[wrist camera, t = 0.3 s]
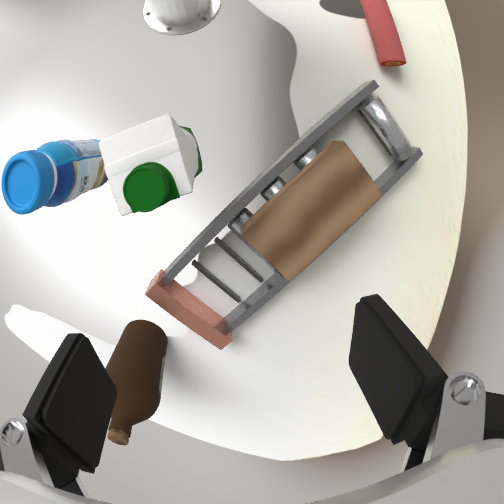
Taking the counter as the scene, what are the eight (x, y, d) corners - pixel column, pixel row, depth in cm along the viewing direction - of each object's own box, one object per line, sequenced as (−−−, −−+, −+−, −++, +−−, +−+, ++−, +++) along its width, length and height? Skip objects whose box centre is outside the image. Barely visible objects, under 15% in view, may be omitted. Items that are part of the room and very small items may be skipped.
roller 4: (355, 109, 38) (367, 107, 35) (370, 97, 38) (382, 94, 34) (391, 160, 42) (404, 162, 38) (404, 147, 41) (417, 148, 38)
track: (151, 280, 47) (145, 294, 42) (362, 79, 37) (377, 74, 32) (220, 333, 53) (220, 349, 48) (414, 155, 43) (430, 157, 38)
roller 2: (258, 192, 43) (262, 197, 39) (277, 174, 42) (282, 178, 38) (306, 242, 47) (313, 250, 43) (323, 226, 46) (331, 233, 43)
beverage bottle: (108, 130, 36) (35, 129, 18) (122, 178, 40) (56, 207, 21) (68, 150, 36) (-11, 165, 18) (81, 195, 40) (9, 233, 21)
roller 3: (290, 162, 42) (297, 164, 38) (308, 145, 41) (317, 146, 37) (336, 214, 46) (345, 221, 42) (352, 199, 45) (362, 204, 41)
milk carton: (157, 191, 41) (110, 230, 23) (141, 138, 38) (80, 138, 19) (209, 174, 41) (199, 200, 23) (194, 119, 38) (170, 100, 19)
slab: (239, 227, 41) (241, 236, 37) (333, 141, 37) (344, 141, 33) (284, 269, 44) (289, 281, 40) (369, 189, 40) (382, 195, 37)
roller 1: (227, 222, 44) (227, 230, 41) (245, 205, 44) (247, 211, 40) (276, 269, 48) (281, 279, 45) (293, 253, 48) (299, 263, 44)
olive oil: (115, 340, 51) (79, 435, 28) (132, 307, 49) (91, 411, 26) (157, 362, 54) (139, 461, 31) (179, 333, 52) (164, 442, 29)
